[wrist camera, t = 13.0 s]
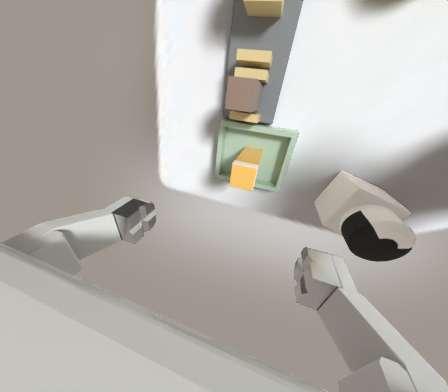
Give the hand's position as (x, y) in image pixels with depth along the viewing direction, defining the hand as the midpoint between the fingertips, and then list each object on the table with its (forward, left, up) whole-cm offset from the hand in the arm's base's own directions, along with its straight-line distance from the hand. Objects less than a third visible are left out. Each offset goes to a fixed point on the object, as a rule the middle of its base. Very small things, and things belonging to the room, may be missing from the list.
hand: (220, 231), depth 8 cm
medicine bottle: (-16, +6, -23) cm, 29 cm away
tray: (+1, +2, -23) cm, 23 cm away
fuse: (+1, +2, -22) cm, 22 cm away
